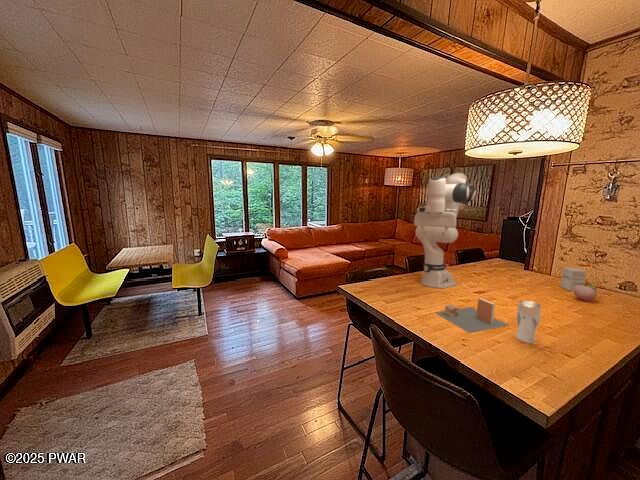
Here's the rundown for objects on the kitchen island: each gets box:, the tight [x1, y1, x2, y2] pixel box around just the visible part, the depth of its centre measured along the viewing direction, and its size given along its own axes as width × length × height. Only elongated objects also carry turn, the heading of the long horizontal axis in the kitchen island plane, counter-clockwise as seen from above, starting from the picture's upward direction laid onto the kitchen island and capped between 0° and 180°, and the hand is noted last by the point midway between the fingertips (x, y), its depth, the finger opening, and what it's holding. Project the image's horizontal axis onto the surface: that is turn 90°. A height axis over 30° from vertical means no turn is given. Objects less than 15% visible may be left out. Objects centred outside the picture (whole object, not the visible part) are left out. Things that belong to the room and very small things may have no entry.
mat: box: [435, 306, 510, 334], centre depth 119 cm, size 22×20×1 cm
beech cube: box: [444, 304, 460, 317], centre depth 123 cm, size 4×4×4 cm
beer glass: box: [515, 300, 542, 345], centre depth 100 cm, size 7×7×15 cm
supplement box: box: [560, 267, 587, 292], centre depth 157 cm, size 7×7×13 cm
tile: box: [476, 297, 496, 324], centre depth 117 cm, size 2×7×9 cm, turn 17°
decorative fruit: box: [572, 282, 598, 302], centre depth 139 cm, size 9×8×10 cm
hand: (433, 235), depth 136 cm, fingers open, 8 cm apart
